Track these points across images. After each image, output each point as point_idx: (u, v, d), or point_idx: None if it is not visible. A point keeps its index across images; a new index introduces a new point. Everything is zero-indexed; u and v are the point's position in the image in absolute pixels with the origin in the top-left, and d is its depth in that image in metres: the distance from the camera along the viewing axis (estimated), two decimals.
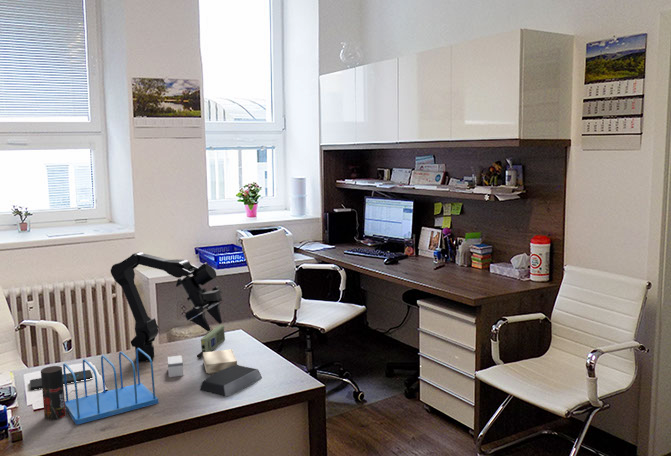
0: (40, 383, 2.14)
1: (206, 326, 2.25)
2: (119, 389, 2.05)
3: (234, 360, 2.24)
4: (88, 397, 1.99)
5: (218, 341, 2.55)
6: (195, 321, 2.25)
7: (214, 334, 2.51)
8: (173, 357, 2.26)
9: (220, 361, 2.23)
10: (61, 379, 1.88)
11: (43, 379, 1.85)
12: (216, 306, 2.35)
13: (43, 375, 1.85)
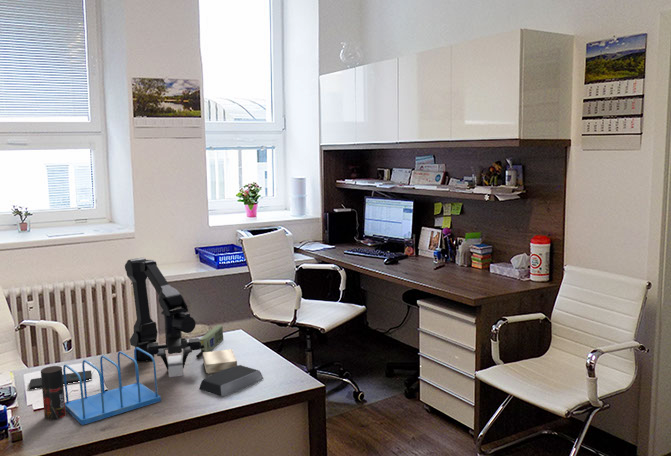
0: (39, 383, 2.14)
1: (165, 365, 2.23)
2: (118, 389, 2.05)
3: (234, 360, 2.24)
4: (88, 398, 1.99)
5: (217, 341, 2.55)
6: None
7: (213, 334, 2.51)
8: (173, 357, 2.26)
9: (220, 361, 2.23)
10: (61, 379, 1.88)
11: (43, 379, 1.85)
12: (183, 352, 2.23)
13: (43, 375, 1.85)
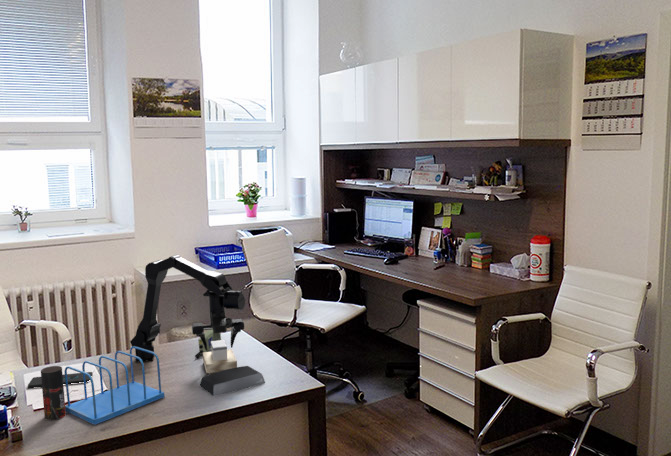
0: (39, 382, 2.15)
1: (204, 345, 2.26)
2: (116, 389, 2.06)
3: (234, 360, 2.24)
4: (89, 399, 1.98)
5: None
6: None
7: (211, 334, 2.51)
8: (216, 341, 2.30)
9: (220, 361, 2.23)
10: (61, 379, 1.88)
11: (43, 379, 1.85)
12: (232, 332, 2.27)
13: (43, 375, 1.85)
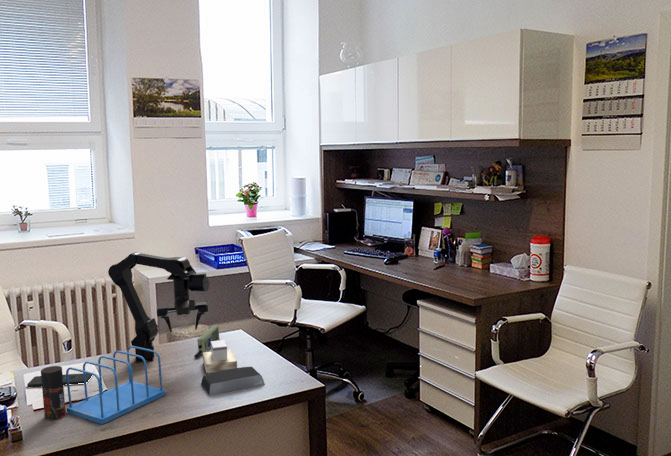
0: (38, 381, 2.16)
1: None
2: (114, 389, 2.06)
3: (234, 360, 2.24)
4: (89, 400, 1.97)
5: None
6: None
7: (210, 334, 2.51)
8: (216, 341, 2.30)
9: (220, 361, 2.23)
10: (61, 379, 1.88)
11: (43, 379, 1.85)
12: (196, 314, 2.34)
13: (43, 375, 1.85)
